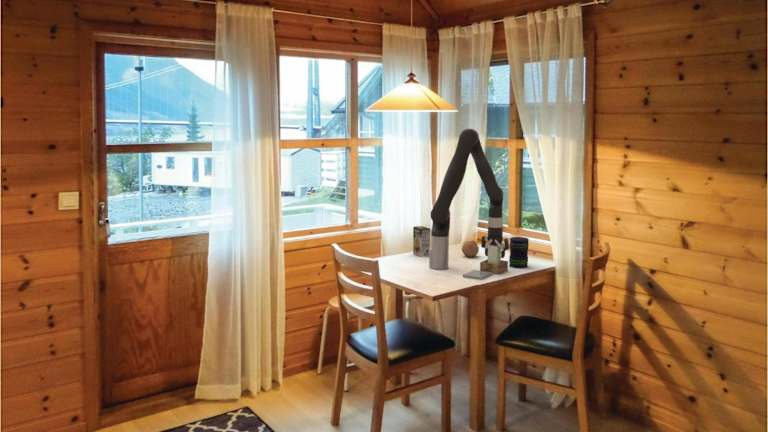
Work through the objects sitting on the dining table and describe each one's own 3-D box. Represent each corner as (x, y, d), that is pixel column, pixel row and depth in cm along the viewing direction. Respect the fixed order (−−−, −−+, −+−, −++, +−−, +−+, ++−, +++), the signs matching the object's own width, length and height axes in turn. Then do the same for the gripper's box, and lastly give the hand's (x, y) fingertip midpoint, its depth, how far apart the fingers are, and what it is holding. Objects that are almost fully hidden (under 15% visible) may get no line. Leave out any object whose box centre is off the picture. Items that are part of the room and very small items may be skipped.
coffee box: (412, 254, 382) (412, 226, 380) (422, 253, 385) (422, 225, 383) (420, 257, 374) (421, 229, 372) (430, 256, 377) (430, 228, 375)
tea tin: (487, 271, 340) (487, 245, 338) (491, 269, 344) (492, 244, 342) (496, 272, 337) (497, 246, 335) (500, 270, 342) (501, 245, 339)
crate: (480, 271, 339) (480, 262, 339) (488, 267, 348) (489, 258, 347) (499, 274, 334) (499, 264, 333) (507, 270, 342) (507, 261, 341)
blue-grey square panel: (462, 277, 328) (462, 274, 328) (474, 272, 339) (474, 269, 338) (481, 279, 323) (481, 277, 323) (491, 274, 333) (492, 272, 333)
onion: (474, 260, 379) (481, 244, 379) (475, 259, 369) (481, 243, 370) (459, 254, 380) (465, 238, 381) (459, 253, 371) (466, 236, 371)
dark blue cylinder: (531, 266, 352) (532, 238, 350) (520, 269, 345) (521, 241, 343) (516, 263, 359) (517, 236, 357) (505, 265, 353) (506, 238, 351)
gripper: (479, 225, 338) (479, 256, 340) (505, 228, 330) (504, 259, 333) (485, 223, 344) (485, 254, 347) (511, 225, 336) (510, 257, 339)
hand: (494, 256), depth 340 cm, fingers open, 8 cm apart
